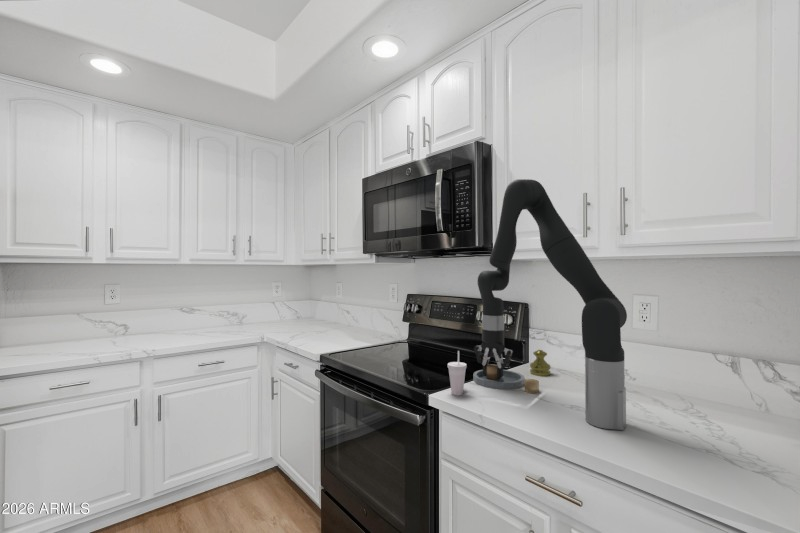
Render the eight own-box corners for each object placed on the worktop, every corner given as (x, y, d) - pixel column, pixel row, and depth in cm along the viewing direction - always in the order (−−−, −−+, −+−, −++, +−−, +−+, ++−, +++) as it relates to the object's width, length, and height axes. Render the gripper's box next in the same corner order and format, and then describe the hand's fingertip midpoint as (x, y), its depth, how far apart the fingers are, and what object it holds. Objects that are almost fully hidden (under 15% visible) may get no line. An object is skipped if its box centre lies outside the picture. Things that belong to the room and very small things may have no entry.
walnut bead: (496, 381, 127) (496, 368, 127) (484, 378, 130) (484, 366, 130) (501, 378, 131) (501, 365, 131) (489, 376, 134) (489, 363, 134)
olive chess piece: (526, 373, 147) (526, 348, 148) (545, 373, 148) (545, 348, 148) (534, 379, 140) (534, 352, 140) (554, 378, 141) (554, 352, 141)
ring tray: (531, 382, 136) (531, 374, 136) (514, 395, 122) (513, 386, 122) (485, 374, 147) (485, 366, 147) (464, 385, 132) (464, 376, 132)
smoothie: (461, 398, 119) (461, 354, 120) (443, 394, 123) (443, 351, 123) (470, 392, 125) (470, 350, 125) (453, 389, 128) (453, 348, 129)
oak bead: (540, 393, 124) (540, 380, 124) (536, 397, 120) (536, 383, 120) (527, 391, 126) (527, 378, 126) (522, 394, 123) (522, 381, 123)
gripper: (469, 327, 132) (469, 376, 132) (509, 331, 123) (509, 383, 123) (478, 324, 138) (478, 371, 138) (516, 328, 129) (517, 378, 129)
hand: (493, 376), depth 130 cm, fingers closed on walnut bead, 4 cm apart
